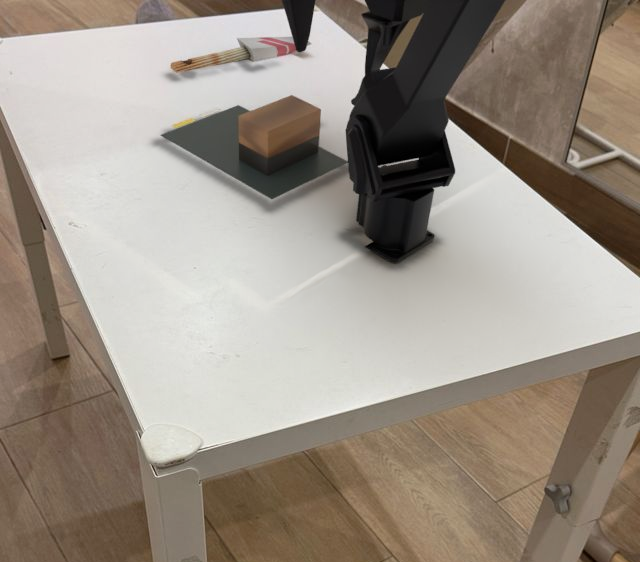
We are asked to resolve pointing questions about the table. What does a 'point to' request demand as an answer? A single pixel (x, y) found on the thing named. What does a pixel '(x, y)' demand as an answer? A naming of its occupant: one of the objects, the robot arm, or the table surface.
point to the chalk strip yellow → (183, 123)
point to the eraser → (279, 134)
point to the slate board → (223, 152)
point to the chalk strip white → (209, 112)
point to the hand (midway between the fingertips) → (334, 65)
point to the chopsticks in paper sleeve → (241, 53)
